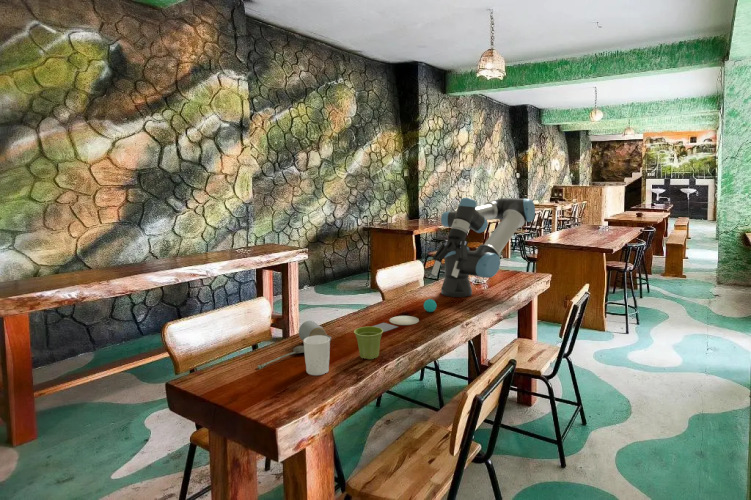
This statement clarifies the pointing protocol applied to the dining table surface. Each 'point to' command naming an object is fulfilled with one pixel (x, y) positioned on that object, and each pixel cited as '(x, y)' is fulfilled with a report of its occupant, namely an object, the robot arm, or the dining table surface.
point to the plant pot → (368, 341)
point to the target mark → (404, 320)
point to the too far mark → (385, 326)
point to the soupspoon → (296, 350)
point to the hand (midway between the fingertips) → (443, 275)
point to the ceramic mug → (311, 330)
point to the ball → (430, 305)
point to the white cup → (317, 354)
